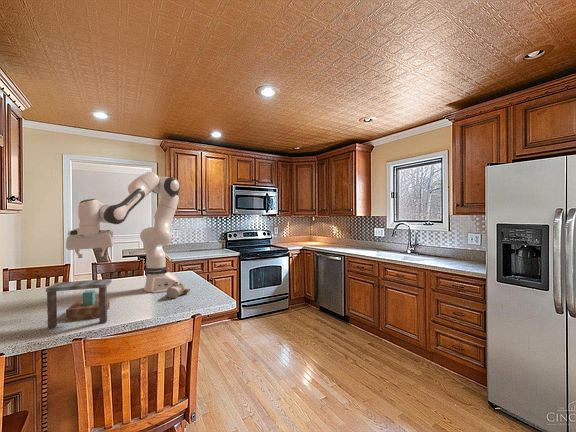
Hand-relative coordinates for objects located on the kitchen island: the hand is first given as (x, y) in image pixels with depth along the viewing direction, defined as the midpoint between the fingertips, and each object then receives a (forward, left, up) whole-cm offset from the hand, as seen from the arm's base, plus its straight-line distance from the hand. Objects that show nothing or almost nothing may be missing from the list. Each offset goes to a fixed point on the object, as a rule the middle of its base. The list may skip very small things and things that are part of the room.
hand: (91, 257), depth 150 cm
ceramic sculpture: (-41, -7, -26) cm, 49 cm away
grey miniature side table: (-2, +16, -26) cm, 30 cm away
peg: (-2, +11, -26) cm, 28 cm away
